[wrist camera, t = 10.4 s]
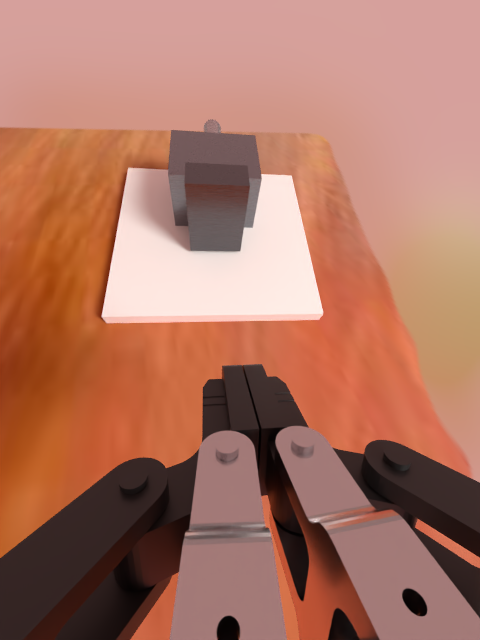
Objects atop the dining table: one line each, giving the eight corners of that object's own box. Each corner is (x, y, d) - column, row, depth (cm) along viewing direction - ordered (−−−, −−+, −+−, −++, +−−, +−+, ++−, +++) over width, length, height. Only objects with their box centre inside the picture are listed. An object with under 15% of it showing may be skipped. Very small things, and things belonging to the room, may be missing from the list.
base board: (106, 323, 30) (101, 316, 28) (131, 177, 40) (128, 167, 39) (318, 319, 32) (323, 313, 31) (288, 184, 43) (291, 175, 42)
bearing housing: (175, 225, 35) (167, 174, 29) (177, 183, 38) (171, 130, 32) (252, 227, 36) (261, 178, 30) (247, 186, 40) (255, 135, 33)
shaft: (190, 250, 33) (184, 183, 25) (192, 148, 42) (188, 74, 34) (240, 251, 33) (249, 186, 25) (231, 150, 42) (236, 79, 34)
